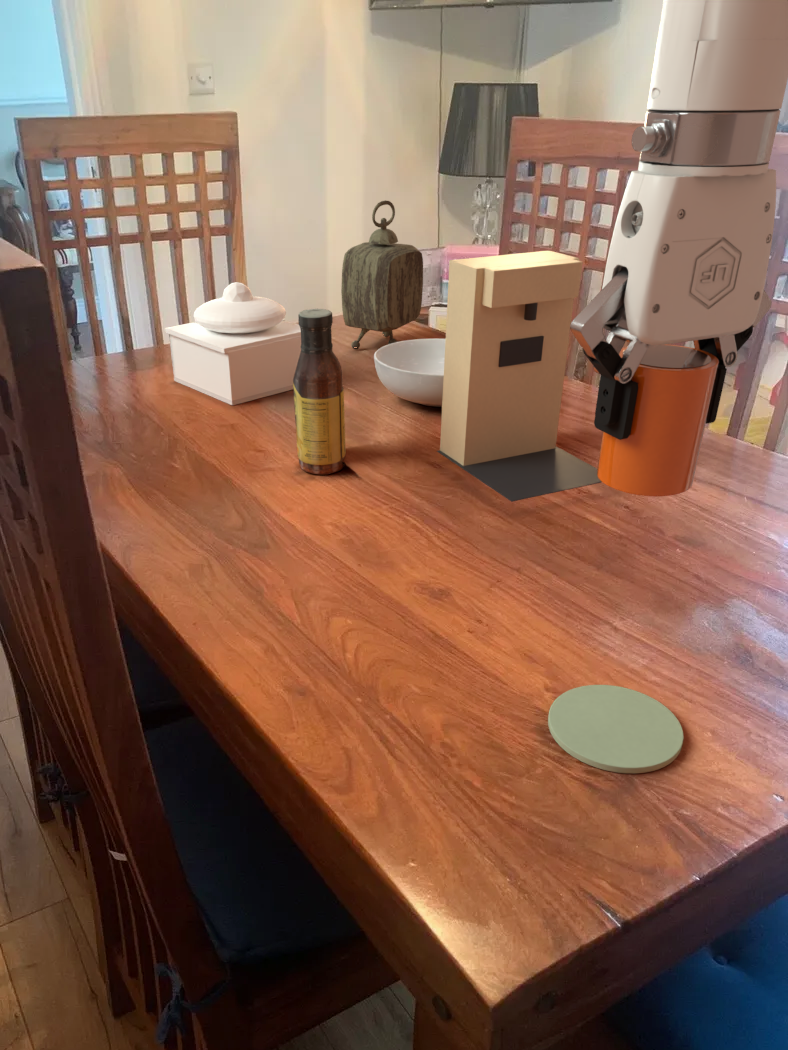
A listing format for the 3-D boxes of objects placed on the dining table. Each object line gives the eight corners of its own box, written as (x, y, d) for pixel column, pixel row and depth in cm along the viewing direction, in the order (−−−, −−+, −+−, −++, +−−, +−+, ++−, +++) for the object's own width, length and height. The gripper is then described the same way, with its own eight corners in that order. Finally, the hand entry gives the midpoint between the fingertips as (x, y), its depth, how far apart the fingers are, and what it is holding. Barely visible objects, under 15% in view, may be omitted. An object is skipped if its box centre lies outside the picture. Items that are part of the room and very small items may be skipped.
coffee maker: (435, 461, 114) (445, 260, 101) (531, 443, 119) (552, 250, 106) (510, 513, 100) (532, 288, 87) (614, 490, 105) (650, 274, 92)
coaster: (622, 678, 72) (623, 672, 72) (711, 750, 64) (713, 744, 64) (522, 709, 69) (523, 703, 69) (603, 789, 61) (604, 783, 61)
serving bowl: (495, 426, 125) (499, 379, 121) (357, 413, 130) (357, 368, 127) (516, 384, 141) (520, 342, 138) (393, 374, 147) (394, 333, 144)
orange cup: (649, 455, 68) (671, 338, 63) (713, 487, 62) (741, 362, 58) (578, 469, 66) (594, 349, 61) (637, 503, 60) (660, 375, 56)
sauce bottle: (316, 455, 116) (312, 302, 106) (355, 465, 113) (354, 308, 103) (286, 471, 111) (279, 313, 101) (325, 481, 108) (322, 320, 98)
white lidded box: (319, 382, 144) (316, 282, 135) (229, 406, 134) (220, 300, 126) (257, 360, 155) (251, 267, 147) (170, 381, 145) (159, 282, 137)
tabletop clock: (384, 334, 170) (386, 195, 157) (423, 340, 166) (429, 198, 153) (341, 350, 160) (340, 203, 147) (382, 358, 156) (385, 207, 143)
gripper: (631, 155, 47) (586, 462, 56) (861, 143, 52) (786, 424, 62) (550, 147, 53) (522, 426, 62) (765, 137, 58) (710, 394, 68)
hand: (654, 423), depth 62 cm, fingers closed on orange cup, 6 cm apart
